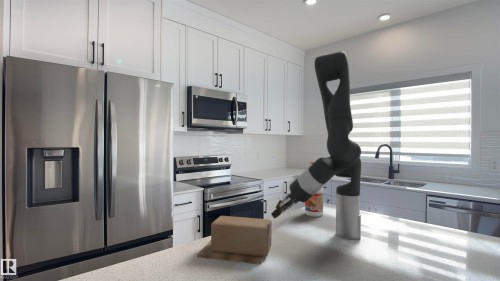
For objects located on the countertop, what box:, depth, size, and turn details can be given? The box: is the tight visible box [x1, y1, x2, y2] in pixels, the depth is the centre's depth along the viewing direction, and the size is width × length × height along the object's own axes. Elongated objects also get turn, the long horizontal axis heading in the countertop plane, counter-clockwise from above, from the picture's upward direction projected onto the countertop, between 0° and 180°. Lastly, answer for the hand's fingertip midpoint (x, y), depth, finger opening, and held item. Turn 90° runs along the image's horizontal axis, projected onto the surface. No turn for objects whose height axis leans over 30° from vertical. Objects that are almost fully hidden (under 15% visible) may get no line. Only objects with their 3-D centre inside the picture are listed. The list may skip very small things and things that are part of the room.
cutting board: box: [196, 239, 265, 265], centre depth 93 cm, size 22×16×1 cm
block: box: [210, 215, 273, 258], centre depth 92 cm, size 10×10×20 cm
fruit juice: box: [304, 160, 324, 218], centre depth 138 cm, size 9×9×28 cm
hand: (273, 215), depth 91 cm, fingers closed
